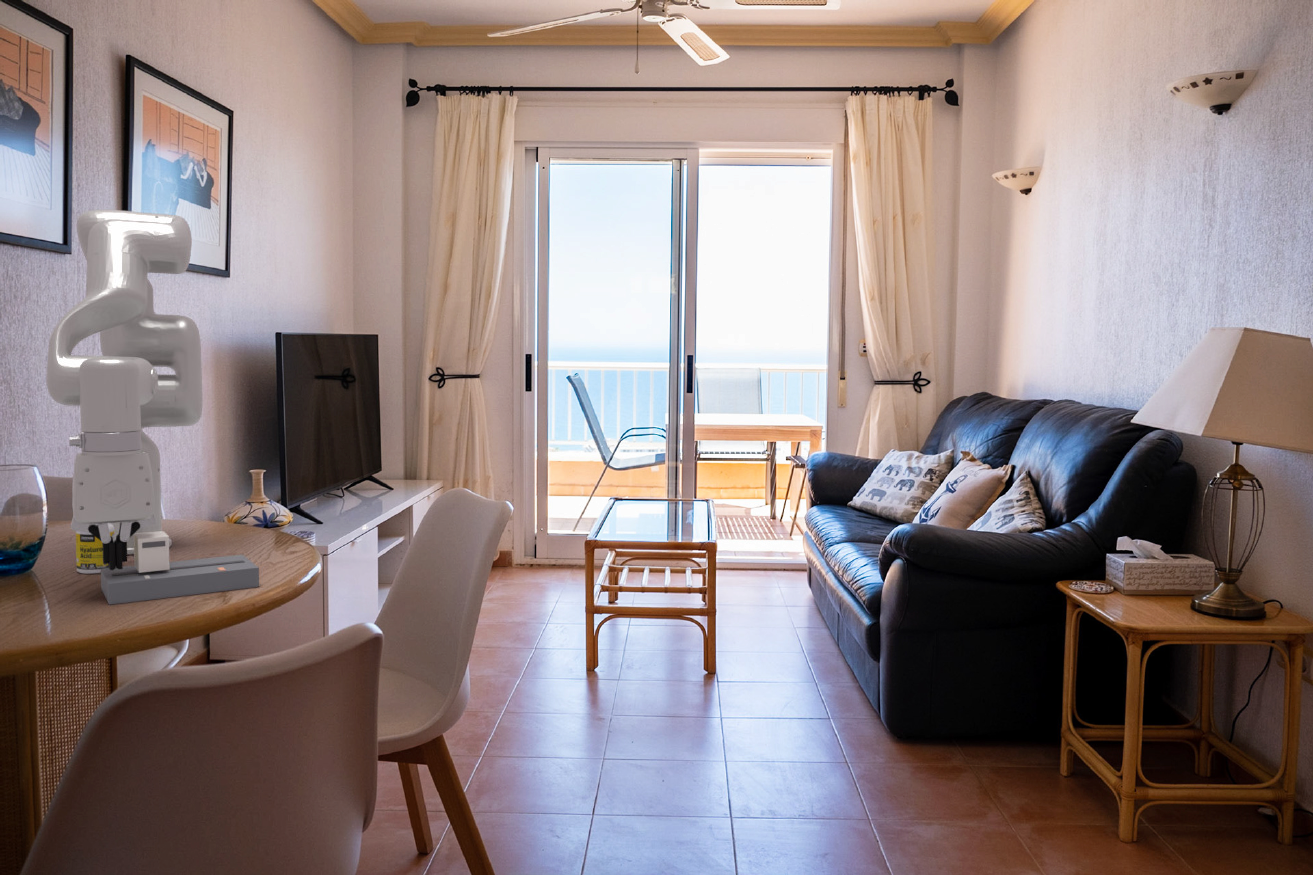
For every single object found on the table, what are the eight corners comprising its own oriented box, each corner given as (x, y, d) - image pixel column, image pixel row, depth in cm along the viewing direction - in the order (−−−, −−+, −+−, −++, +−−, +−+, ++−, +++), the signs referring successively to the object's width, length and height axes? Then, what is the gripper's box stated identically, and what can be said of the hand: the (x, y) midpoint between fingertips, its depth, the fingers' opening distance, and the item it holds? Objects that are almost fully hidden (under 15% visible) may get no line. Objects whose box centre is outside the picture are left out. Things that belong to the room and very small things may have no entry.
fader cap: (134, 566, 139) (133, 533, 139) (164, 563, 141) (163, 530, 141) (139, 572, 135) (138, 539, 134) (169, 569, 137) (168, 536, 137)
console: (101, 588, 139) (100, 568, 139) (243, 572, 151) (242, 553, 151) (109, 604, 130) (108, 583, 130) (259, 586, 142) (258, 566, 142)
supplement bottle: (75, 575, 147) (73, 514, 146) (78, 568, 152) (76, 509, 151) (114, 572, 149) (112, 512, 149) (116, 565, 154) (114, 507, 153)
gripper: (51, 447, 126) (56, 579, 128) (173, 443, 135) (176, 567, 137) (48, 443, 133) (53, 568, 134) (165, 439, 141) (168, 557, 143)
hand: (115, 567), depth 135 cm, fingers closed
